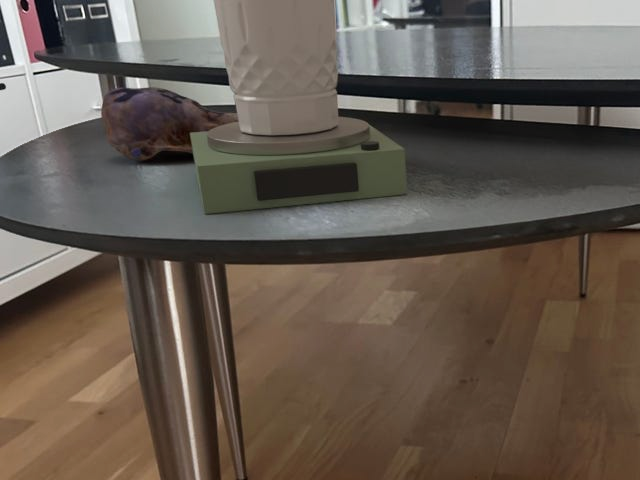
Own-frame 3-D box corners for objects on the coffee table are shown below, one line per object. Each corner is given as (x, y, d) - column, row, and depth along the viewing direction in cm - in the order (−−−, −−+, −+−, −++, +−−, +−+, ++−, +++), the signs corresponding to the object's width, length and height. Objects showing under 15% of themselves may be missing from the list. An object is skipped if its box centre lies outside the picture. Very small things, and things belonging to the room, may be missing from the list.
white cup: (227, 123, 61) (206, -30, 57) (336, 116, 63) (324, -32, 59) (234, 141, 54) (210, -31, 50) (356, 132, 56) (343, -34, 52)
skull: (271, 139, 73) (256, 66, 70) (248, 170, 67) (230, 92, 64) (136, 148, 74) (115, 76, 71) (100, 180, 68) (75, 102, 64)
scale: (196, 173, 64) (188, 127, 63) (365, 158, 68) (362, 114, 66) (205, 216, 52) (196, 160, 51) (408, 195, 56) (406, 143, 55)
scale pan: (204, 133, 62) (202, 122, 62) (352, 122, 65) (352, 111, 65) (213, 161, 53) (211, 148, 52) (386, 147, 56) (385, 134, 56)
